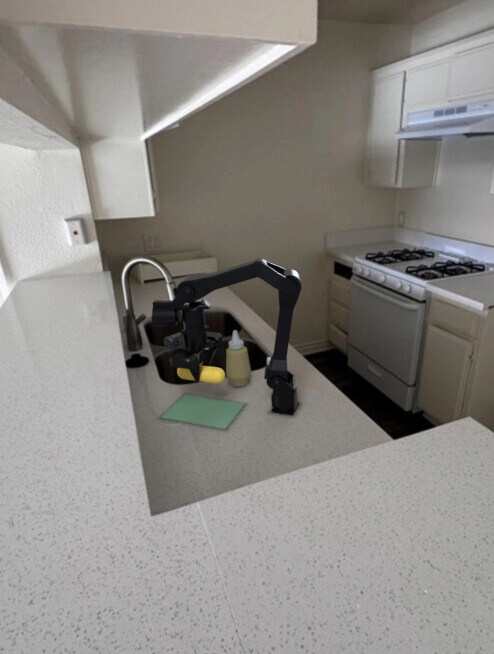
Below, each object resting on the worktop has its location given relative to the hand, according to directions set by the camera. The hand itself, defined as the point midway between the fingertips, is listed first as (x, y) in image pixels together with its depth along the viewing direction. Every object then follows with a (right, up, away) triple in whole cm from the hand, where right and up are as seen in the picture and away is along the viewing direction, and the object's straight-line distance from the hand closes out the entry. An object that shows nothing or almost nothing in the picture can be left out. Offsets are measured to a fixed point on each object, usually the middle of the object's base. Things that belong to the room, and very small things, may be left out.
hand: (201, 377), depth 116 cm
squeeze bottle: (+9, -3, +19) cm, 21 cm away
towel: (0, -10, +4) cm, 11 cm away
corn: (0, -1, 0) cm, 1 cm away
